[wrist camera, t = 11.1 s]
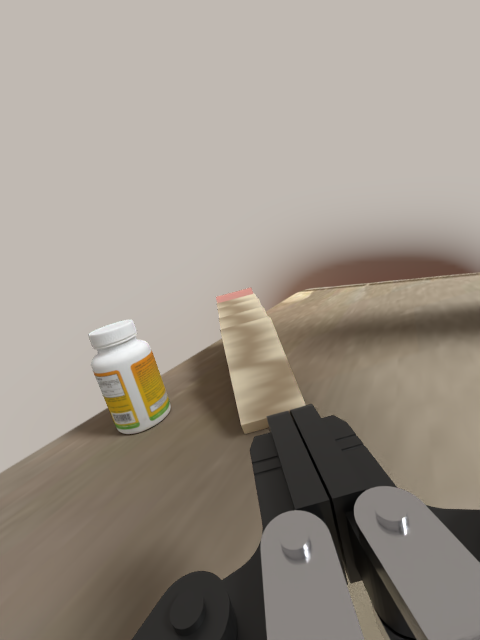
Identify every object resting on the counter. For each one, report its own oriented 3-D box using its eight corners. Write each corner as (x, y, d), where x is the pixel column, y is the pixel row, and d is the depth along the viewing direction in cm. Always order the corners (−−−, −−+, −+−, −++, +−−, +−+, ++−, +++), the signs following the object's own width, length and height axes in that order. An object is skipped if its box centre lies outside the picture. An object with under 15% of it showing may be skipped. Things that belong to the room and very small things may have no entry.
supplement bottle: (167, 397, 33) (138, 314, 31) (176, 418, 28) (142, 321, 26) (117, 417, 31) (82, 331, 29) (117, 444, 26) (75, 342, 24)
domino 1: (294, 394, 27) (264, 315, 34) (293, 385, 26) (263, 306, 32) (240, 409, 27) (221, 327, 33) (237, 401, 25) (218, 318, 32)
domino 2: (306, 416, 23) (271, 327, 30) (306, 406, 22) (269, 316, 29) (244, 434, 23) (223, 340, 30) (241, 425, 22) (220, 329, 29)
